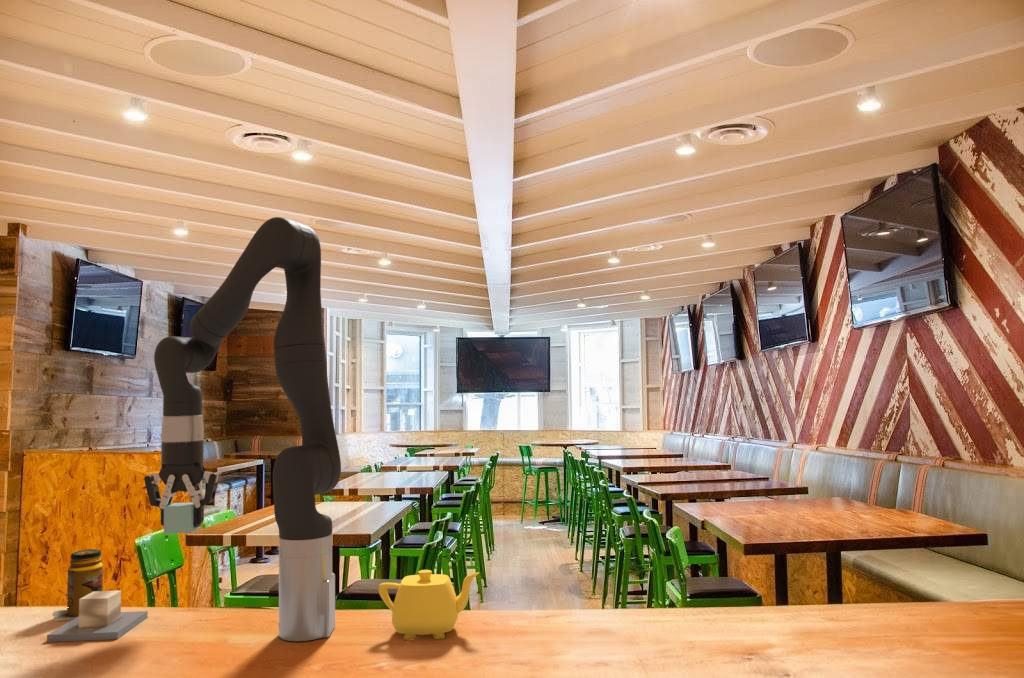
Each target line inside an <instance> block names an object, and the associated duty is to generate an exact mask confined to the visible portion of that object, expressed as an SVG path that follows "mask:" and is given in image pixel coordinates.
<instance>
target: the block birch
mask: <svg viewBox="0 0 1024 678" xmlns="http://www.w3.org/2000/svg"><path fill="white" fill-rule="evenodd" d="M121 607H122V590H103V591H93V592H92V593H90V594H88V595H86V596H84V597H82V598H81V599H79V627H104V626H109V625H110V624H112V623H113V622H115V621H116V620H118V619H119V618H121V612H122V611H121Z"/></svg>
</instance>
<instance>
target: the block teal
mask: <svg viewBox="0 0 1024 678" xmlns="http://www.w3.org/2000/svg"><path fill="white" fill-rule="evenodd" d="M194 508H195V507H194V504H193V502H174V503H171V505H168V506H166V507H164V527H163V534H164V535H165V534H166V535H168V534H170V535H171V534H191V533H193V532H195V531H197V530H199V529H201V525H200V526H199V527H194Z"/></svg>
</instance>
